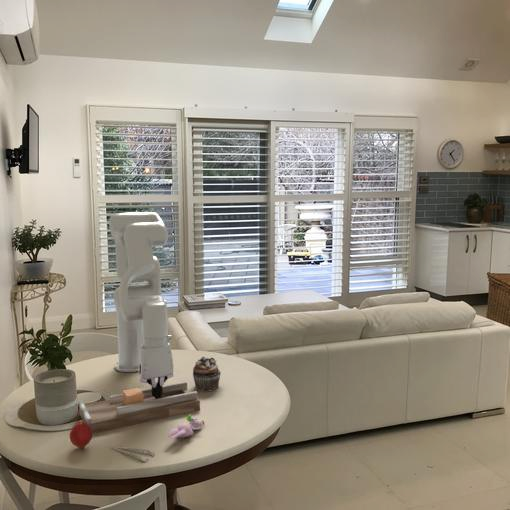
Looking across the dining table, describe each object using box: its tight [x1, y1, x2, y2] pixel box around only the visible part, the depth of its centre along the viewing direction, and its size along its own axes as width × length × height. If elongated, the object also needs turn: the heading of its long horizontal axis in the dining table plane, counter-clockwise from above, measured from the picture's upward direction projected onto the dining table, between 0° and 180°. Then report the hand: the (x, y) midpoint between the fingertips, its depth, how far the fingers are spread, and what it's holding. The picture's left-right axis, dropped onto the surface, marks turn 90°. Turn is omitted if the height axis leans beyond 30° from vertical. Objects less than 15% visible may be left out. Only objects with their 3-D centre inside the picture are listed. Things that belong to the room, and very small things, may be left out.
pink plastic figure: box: [167, 414, 206, 440], centre depth 152 cm, size 6×6×15 cm
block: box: [122, 387, 144, 405], centre depth 166 cm, size 5×5×4 cm
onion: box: [69, 419, 93, 449], centre depth 145 cm, size 6×6×8 cm
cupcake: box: [192, 356, 221, 392], centre depth 186 cm, size 10×10×10 cm
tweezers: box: [107, 446, 156, 463], centre depth 144 cm, size 17×5×2 cm, turn 65°
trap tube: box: [78, 381, 201, 434], centre depth 167 cm, size 14×34×5 cm, turn 118°
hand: (157, 397), depth 169 cm, fingers closed
